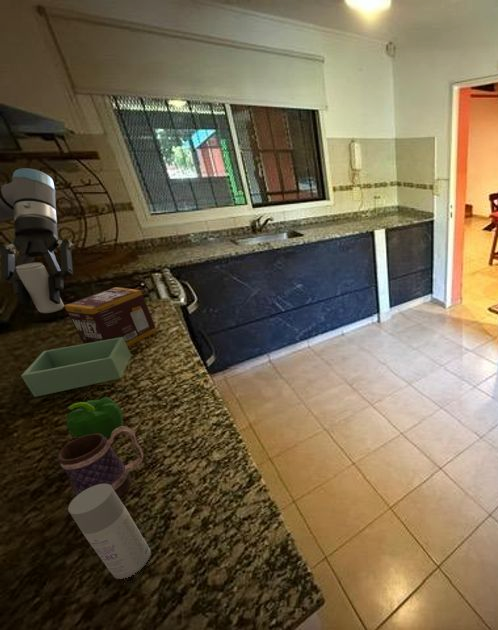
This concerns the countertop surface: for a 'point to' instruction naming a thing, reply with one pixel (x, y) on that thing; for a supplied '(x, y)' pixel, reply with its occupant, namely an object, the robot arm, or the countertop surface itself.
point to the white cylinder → (38, 286)
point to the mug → (98, 462)
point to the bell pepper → (94, 418)
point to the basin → (77, 366)
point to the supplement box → (112, 316)
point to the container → (110, 530)
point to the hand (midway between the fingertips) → (39, 303)
